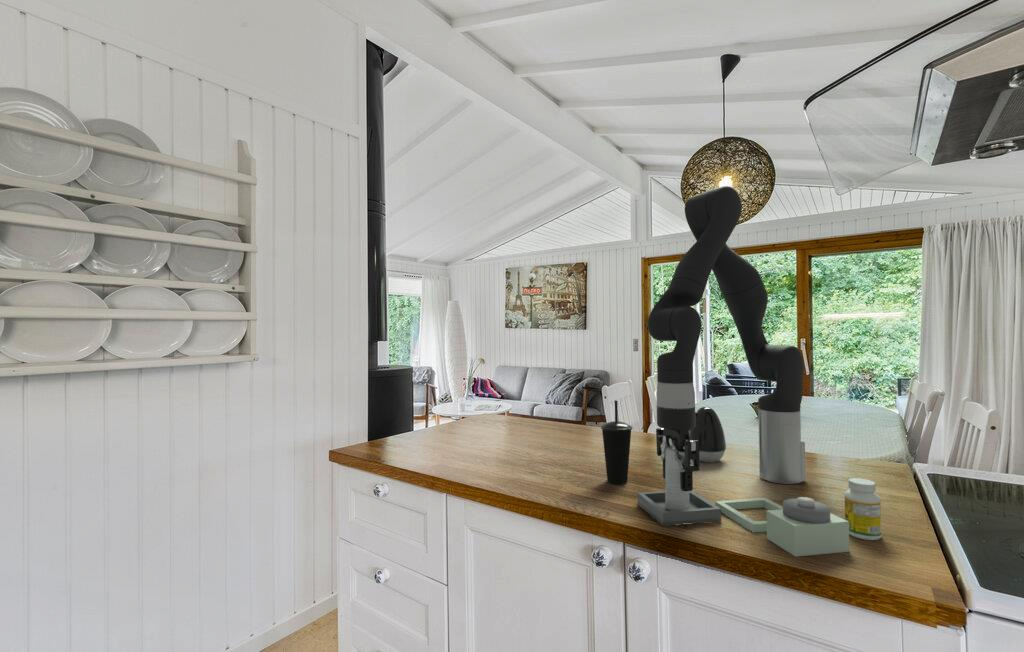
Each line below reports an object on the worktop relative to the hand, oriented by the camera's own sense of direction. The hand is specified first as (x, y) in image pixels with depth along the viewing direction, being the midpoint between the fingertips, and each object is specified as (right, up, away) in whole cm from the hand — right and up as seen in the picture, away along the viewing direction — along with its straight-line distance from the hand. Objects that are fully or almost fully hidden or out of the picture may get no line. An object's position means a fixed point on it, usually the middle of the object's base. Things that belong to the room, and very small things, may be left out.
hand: (677, 484), depth 100 cm
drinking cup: (-8, -6, +21) cm, 23 cm away
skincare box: (0, -5, 0) cm, 5 cm away
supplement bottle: (+30, -5, -12) cm, 32 cm away
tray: (0, -6, 0) cm, 6 cm away
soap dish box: (+16, -5, -8) cm, 18 cm away
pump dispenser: (+22, -6, +40) cm, 46 cm away
